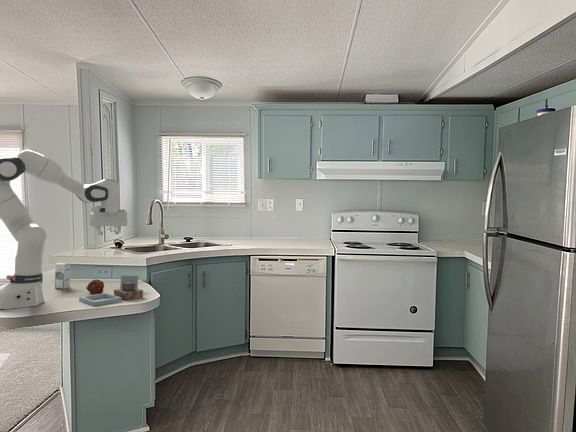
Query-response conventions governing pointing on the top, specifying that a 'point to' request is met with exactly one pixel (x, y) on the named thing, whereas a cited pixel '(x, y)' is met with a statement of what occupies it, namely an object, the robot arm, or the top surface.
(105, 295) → the tray
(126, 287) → the plug
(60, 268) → the syrup box
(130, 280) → the electrical switch
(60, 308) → the top surface
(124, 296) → the holder
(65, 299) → the top surface
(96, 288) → the brown rounded piece
